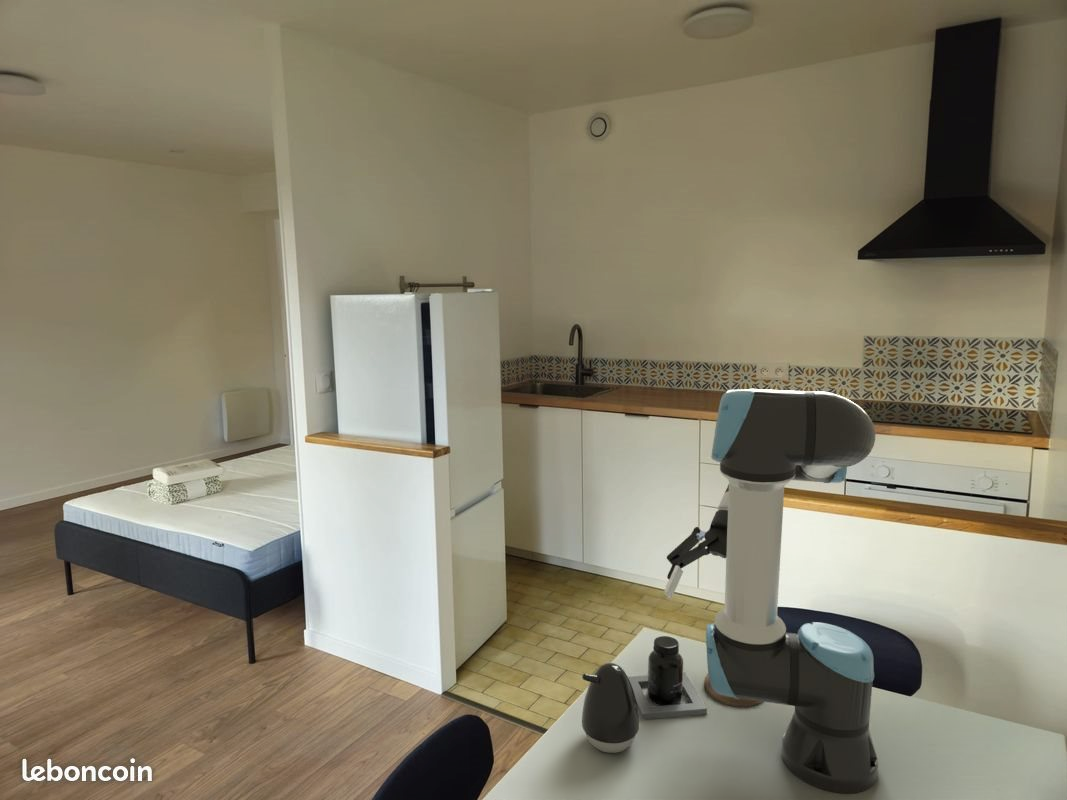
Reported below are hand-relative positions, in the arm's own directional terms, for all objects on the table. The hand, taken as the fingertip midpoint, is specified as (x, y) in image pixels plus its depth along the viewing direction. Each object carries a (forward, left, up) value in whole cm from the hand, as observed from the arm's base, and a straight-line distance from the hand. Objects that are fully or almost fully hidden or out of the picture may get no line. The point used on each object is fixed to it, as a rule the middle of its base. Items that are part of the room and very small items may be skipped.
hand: (695, 605), depth 143 cm
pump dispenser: (-19, +23, -16) cm, 33 cm away
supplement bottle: (-7, +9, -16) cm, 19 cm away
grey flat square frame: (-7, +9, -16) cm, 19 cm away
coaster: (-6, -6, -16) cm, 18 cm away
